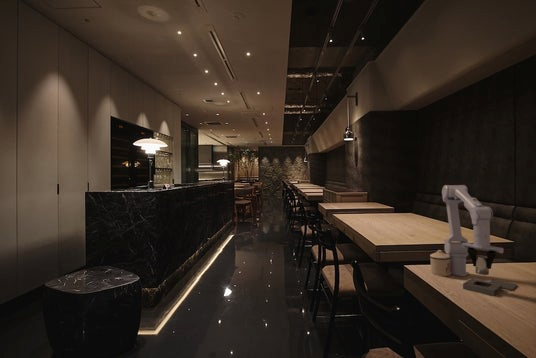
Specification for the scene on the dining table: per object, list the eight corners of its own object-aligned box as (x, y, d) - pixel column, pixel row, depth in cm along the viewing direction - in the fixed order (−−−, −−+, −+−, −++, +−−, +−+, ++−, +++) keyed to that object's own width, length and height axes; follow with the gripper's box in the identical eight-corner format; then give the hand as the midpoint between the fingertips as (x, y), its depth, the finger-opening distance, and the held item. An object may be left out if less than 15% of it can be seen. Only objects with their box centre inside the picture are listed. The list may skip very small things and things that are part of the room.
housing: (463, 288, 129) (462, 283, 129) (472, 283, 136) (472, 278, 136) (494, 296, 120) (494, 290, 120) (502, 289, 127) (502, 284, 127)
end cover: (474, 273, 128) (473, 256, 128) (477, 271, 131) (477, 254, 131) (486, 275, 125) (486, 258, 125) (490, 273, 128) (490, 256, 128)
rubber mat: (486, 285, 133) (486, 283, 133) (492, 280, 138) (492, 279, 138) (512, 290, 126) (511, 289, 126) (517, 286, 131) (517, 284, 131)
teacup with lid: (450, 277, 143) (449, 253, 143) (429, 275, 149) (427, 251, 149) (453, 270, 153) (452, 247, 153) (433, 268, 158) (432, 246, 158)
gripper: (459, 234, 131) (459, 265, 131) (499, 238, 120) (500, 272, 120) (464, 232, 136) (465, 262, 136) (504, 236, 124) (505, 269, 124)
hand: (482, 267), depth 128 cm, fingers closed on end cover, 5 cm apart
